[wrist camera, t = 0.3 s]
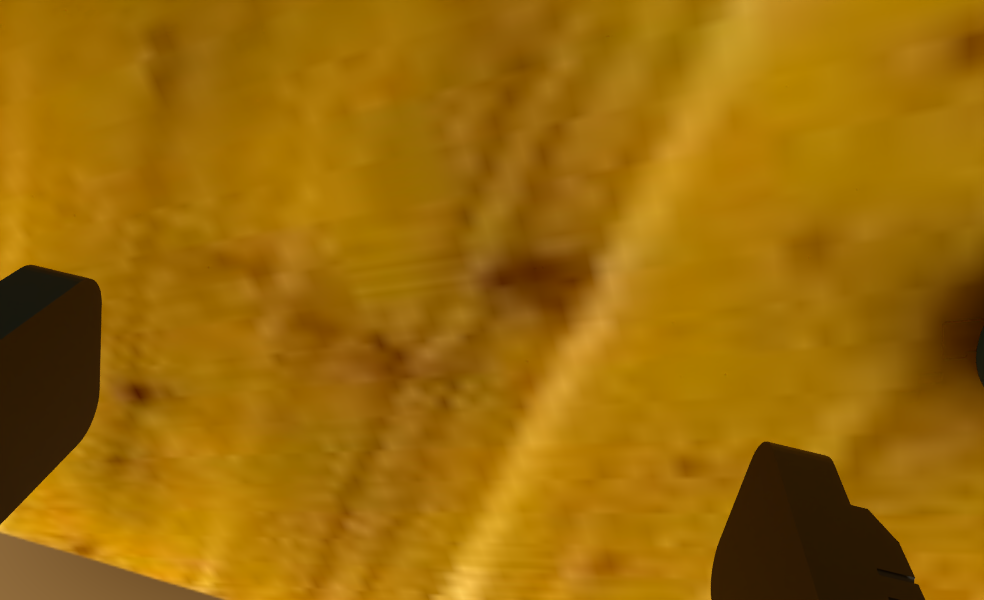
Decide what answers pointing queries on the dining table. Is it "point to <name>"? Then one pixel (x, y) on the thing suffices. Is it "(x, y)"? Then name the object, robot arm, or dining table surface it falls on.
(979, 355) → the soda can
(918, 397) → the dining table surface
